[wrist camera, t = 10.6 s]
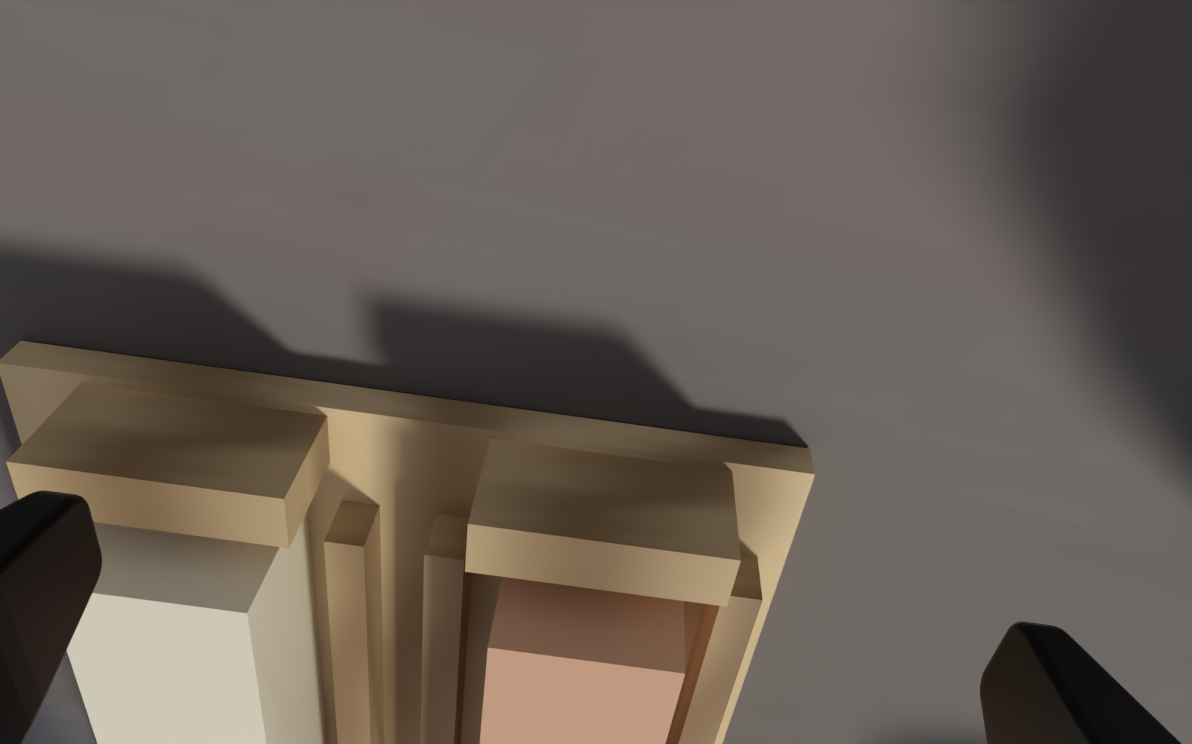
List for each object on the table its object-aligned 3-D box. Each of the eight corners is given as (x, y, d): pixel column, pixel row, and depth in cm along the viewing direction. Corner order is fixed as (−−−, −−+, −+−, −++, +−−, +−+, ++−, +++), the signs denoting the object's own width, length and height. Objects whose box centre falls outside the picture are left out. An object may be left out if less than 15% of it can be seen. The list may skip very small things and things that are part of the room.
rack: (809, 448, 23) (834, 564, 19) (665, 879, 35) (665, 995, 32) (21, 340, 22) (-91, 440, 19) (156, 814, 35) (103, 925, 31)
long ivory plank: (306, 493, 23) (247, 613, 20) (333, 821, 32) (296, 941, 29) (134, 470, 23) (45, 586, 20) (209, 805, 32) (157, 924, 29)
